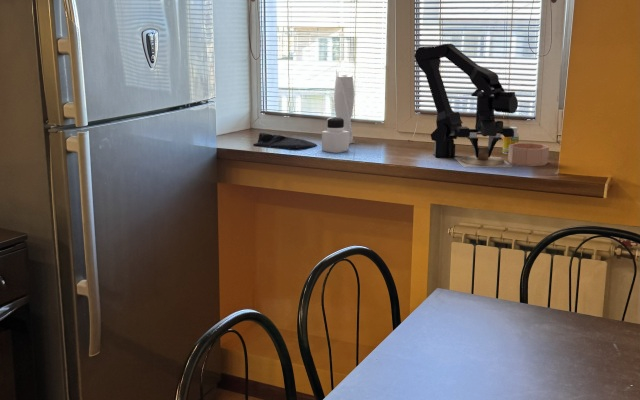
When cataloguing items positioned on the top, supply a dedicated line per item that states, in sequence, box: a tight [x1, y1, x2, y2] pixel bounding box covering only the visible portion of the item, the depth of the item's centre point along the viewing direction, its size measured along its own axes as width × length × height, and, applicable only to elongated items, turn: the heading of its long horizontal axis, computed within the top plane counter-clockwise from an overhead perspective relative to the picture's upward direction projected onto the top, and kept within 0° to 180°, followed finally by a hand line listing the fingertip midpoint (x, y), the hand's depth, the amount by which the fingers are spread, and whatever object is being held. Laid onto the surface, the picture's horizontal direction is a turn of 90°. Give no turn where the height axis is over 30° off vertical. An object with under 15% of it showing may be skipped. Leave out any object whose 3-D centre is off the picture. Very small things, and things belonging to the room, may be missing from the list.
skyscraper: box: [333, 69, 355, 145], centre depth 291 cm, size 8×8×28 cm
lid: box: [460, 146, 505, 166], centre depth 254 cm, size 14×14×5 cm
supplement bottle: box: [502, 126, 520, 155], centre depth 271 cm, size 5×5×10 cm
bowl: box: [507, 142, 550, 167], centre depth 254 cm, size 12×12×6 cm
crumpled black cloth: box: [253, 132, 318, 150], centre depth 288 cm, size 15×22×5 cm
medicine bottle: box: [321, 117, 350, 154], centre depth 276 cm, size 7×7×12 cm
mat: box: [454, 156, 514, 168], centre depth 255 cm, size 16×16×1 cm
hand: (482, 157), depth 254 cm, fingers closed on lid, 4 cm apart
